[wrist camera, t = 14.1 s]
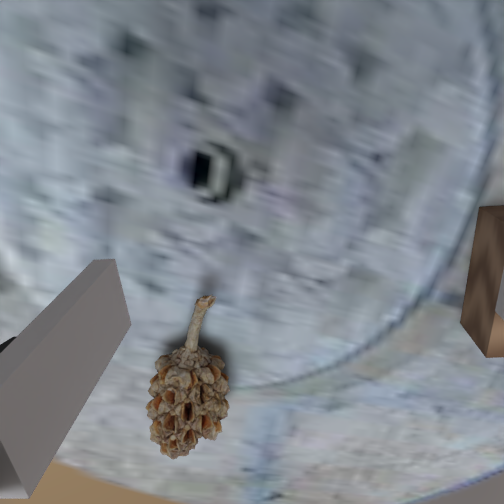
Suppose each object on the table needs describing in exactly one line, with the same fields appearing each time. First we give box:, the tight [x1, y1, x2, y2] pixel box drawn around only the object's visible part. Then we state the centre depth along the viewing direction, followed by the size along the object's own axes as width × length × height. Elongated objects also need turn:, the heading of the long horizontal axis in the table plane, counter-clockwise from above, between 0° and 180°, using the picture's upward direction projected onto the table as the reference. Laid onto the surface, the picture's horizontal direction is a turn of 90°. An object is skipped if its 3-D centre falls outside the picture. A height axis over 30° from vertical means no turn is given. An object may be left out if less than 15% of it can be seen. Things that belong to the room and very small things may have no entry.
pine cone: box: [146, 295, 230, 459], centre depth 43 cm, size 22×10×10 cm, turn 174°
